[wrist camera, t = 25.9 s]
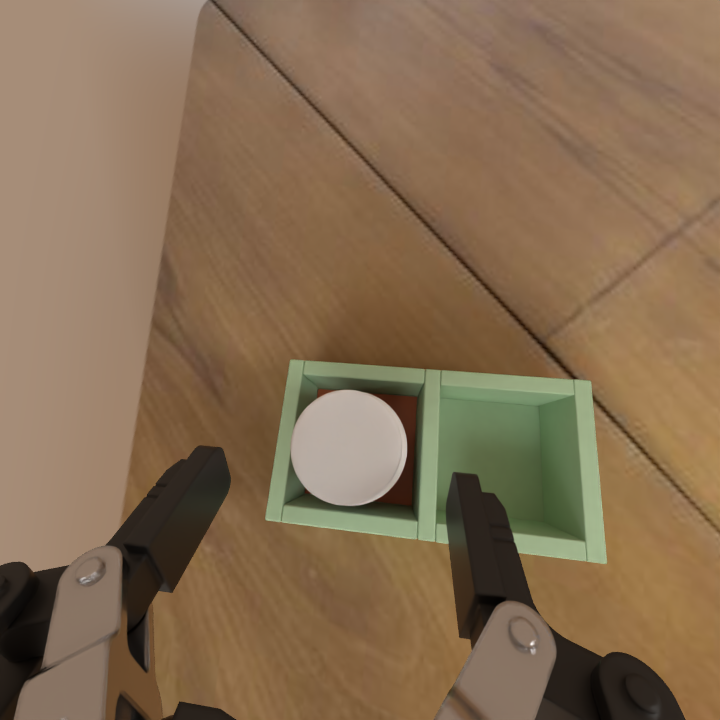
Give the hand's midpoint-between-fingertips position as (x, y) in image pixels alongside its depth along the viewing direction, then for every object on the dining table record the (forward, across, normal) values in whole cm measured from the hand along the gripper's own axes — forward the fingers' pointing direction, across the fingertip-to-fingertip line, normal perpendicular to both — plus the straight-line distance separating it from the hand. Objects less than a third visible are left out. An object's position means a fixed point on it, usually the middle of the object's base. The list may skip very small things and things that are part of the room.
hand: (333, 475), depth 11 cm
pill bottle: (+7, 0, +5) cm, 8 cm away
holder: (+7, -4, +5) cm, 10 cm away
